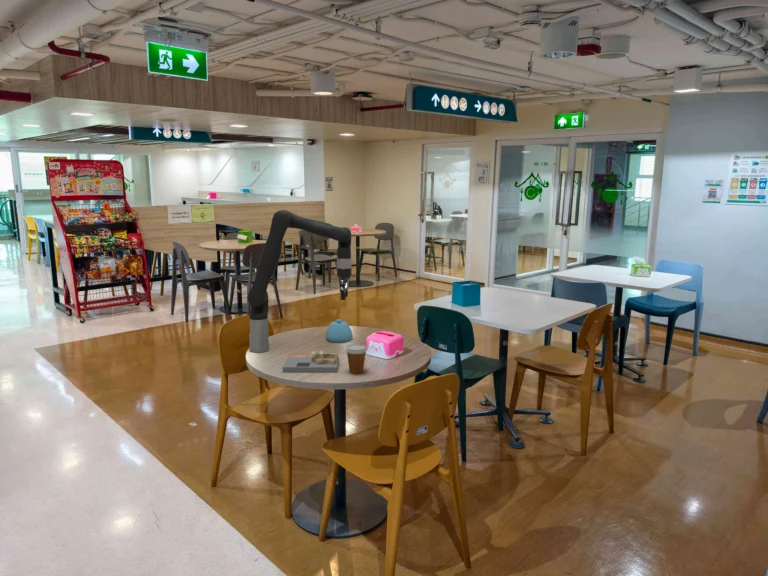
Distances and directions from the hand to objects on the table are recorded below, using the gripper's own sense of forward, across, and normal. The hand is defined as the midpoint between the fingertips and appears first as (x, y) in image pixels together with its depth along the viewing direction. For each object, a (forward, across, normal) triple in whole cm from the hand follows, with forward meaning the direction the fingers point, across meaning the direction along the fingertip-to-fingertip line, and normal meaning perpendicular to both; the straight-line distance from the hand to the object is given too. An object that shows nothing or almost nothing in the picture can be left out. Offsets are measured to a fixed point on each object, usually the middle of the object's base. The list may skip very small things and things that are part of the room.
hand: (344, 298), depth 288 cm
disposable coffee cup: (+28, +32, +10) cm, 44 cm away
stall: (+26, +24, -5) cm, 36 cm away
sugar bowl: (+29, -22, -6) cm, 37 cm away
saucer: (+28, +13, -21) cm, 38 cm away
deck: (+28, +27, -12) cm, 41 cm away
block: (+26, +24, -9) cm, 37 cm away
